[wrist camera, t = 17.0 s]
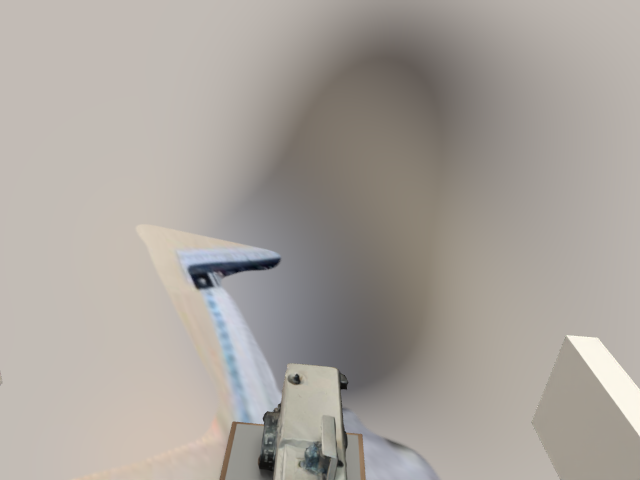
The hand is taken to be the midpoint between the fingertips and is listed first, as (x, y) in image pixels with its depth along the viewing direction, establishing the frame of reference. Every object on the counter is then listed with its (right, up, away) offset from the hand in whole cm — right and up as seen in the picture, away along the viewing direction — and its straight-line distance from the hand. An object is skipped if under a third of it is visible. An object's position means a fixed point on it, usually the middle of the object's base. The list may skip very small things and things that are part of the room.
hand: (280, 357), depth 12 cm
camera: (-1, -19, +34) cm, 39 cm away
